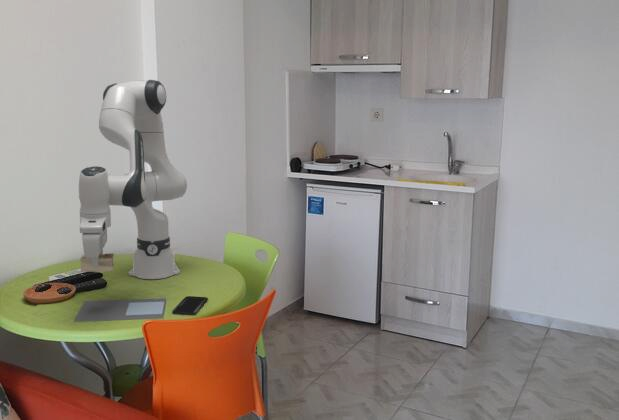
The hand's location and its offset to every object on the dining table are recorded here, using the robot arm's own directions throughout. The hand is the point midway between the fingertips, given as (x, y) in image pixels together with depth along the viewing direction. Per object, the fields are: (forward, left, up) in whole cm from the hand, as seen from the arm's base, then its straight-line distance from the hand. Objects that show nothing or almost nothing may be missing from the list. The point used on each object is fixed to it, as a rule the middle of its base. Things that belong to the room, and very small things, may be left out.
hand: (97, 264), depth 189 cm
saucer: (-15, -18, -16) cm, 28 cm away
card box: (0, 0, -2) cm, 2 cm away
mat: (0, +7, -15) cm, 17 cm away
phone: (-2, +28, -16) cm, 32 cm away
